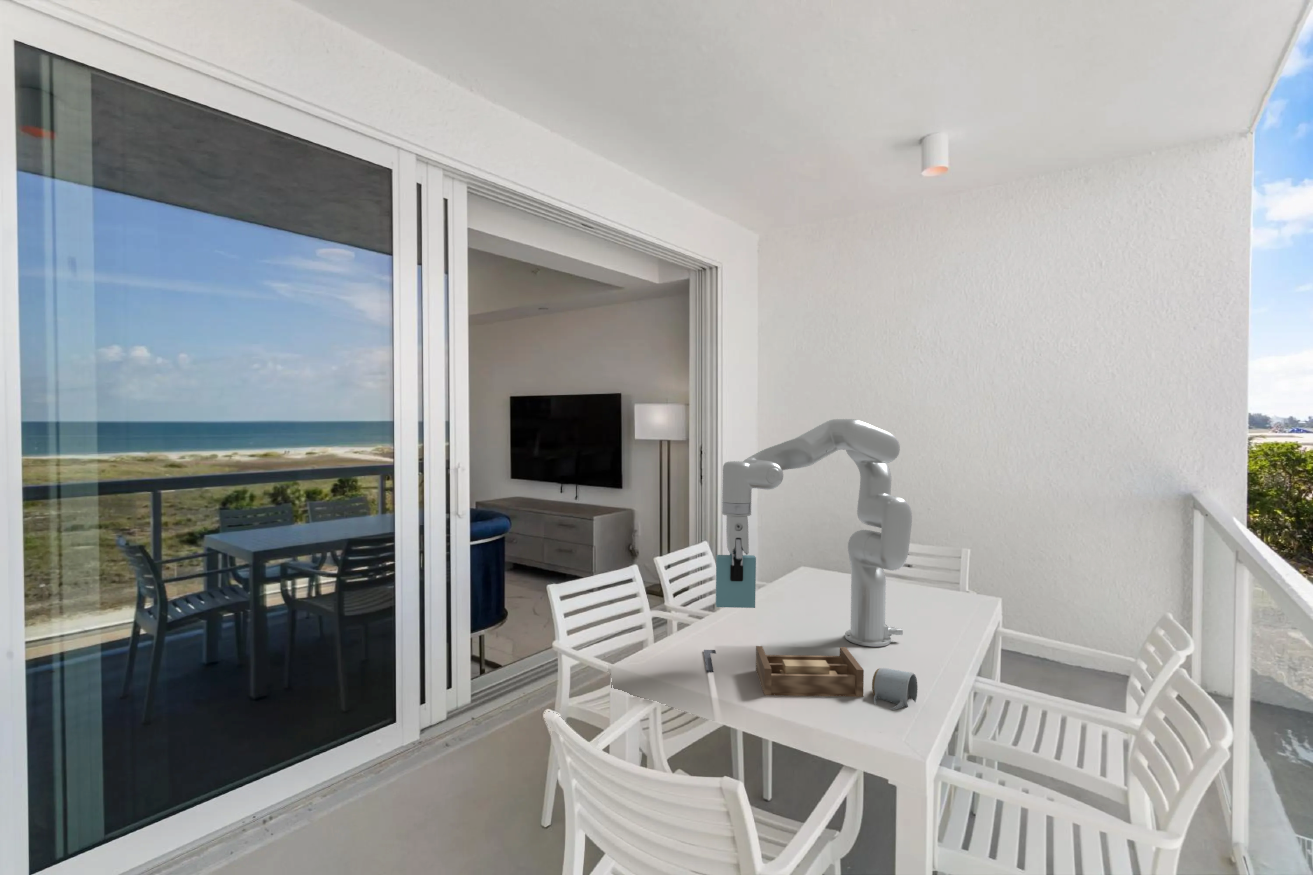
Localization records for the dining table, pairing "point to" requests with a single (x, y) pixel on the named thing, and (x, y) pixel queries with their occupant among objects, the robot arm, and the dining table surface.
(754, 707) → the dining table surface
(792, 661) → the oak offcuts
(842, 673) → the walnut rack
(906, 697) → the ceramic mug
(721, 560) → the teal rectangular block
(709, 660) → the gray l-shaped bracket
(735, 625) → the dining table surface
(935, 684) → the dining table surface
